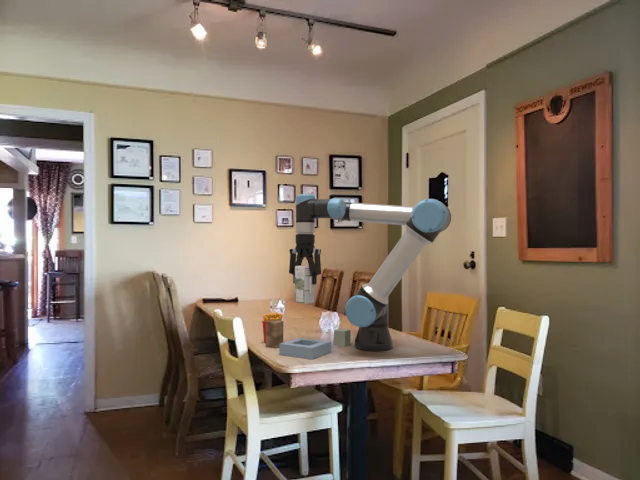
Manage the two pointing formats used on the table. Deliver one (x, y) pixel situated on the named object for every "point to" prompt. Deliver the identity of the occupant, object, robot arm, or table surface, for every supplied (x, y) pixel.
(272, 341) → the walnut peg
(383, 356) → the table surface
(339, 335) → the greygreen peg
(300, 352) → the hole block
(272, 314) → the french fries
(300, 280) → the syrup box
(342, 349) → the table surface
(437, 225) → the robot arm
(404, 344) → the table surface
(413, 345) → the table surface
